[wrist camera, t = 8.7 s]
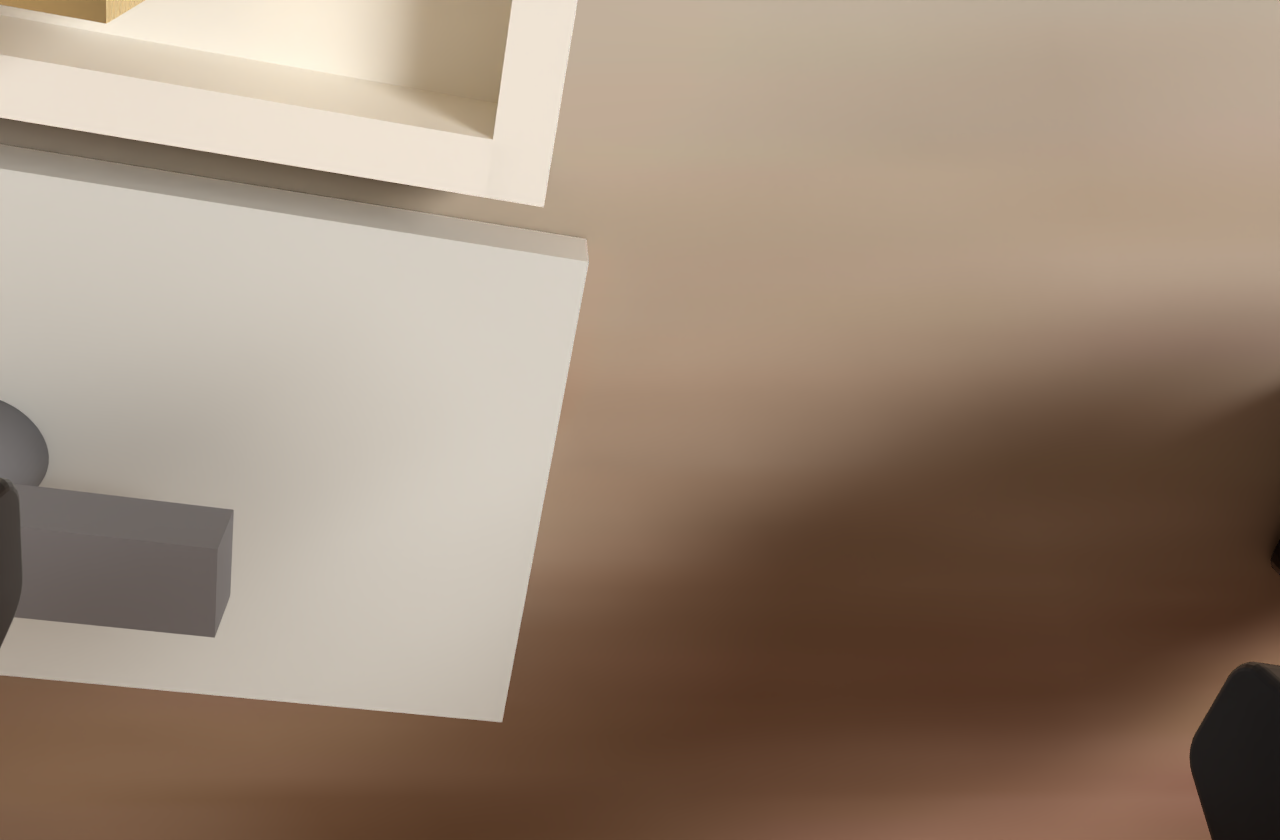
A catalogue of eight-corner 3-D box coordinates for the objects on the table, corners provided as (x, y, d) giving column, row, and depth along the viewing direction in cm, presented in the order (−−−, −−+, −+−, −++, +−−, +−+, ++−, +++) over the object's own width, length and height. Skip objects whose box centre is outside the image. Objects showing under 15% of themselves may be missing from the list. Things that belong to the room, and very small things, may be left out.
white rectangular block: (586, 238, 19) (596, 346, 15) (503, 686, 23) (497, 848, 20) (-310, 94, 17) (-531, 180, 13) (-214, 615, 21) (-361, 783, 18)
